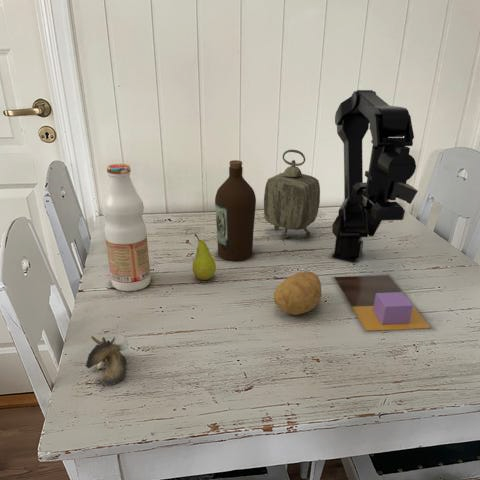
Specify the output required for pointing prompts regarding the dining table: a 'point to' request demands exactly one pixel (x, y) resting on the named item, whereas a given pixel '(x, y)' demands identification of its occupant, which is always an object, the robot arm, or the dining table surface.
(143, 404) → the dining table surface
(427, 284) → the dining table surface
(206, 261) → the fruit
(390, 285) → the board
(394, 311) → the block
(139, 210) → the fruit juice
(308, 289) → the potato
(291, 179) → the tabletop clock
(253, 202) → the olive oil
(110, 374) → the brown animal figurine
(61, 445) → the dining table surface
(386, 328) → the pad
